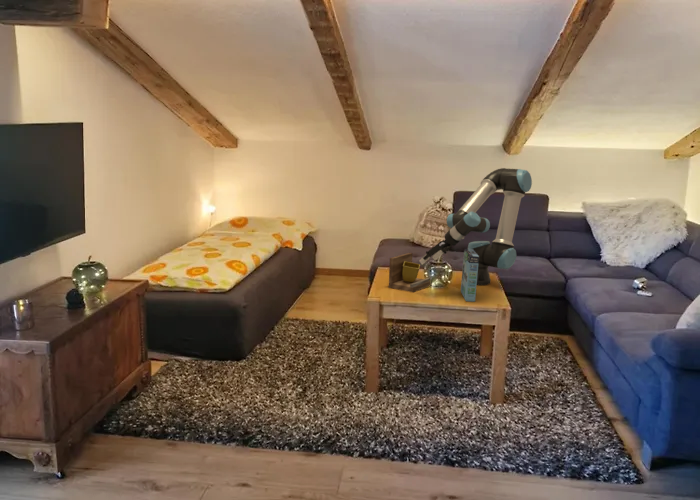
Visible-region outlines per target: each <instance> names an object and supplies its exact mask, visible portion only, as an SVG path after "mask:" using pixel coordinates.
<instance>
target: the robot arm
mask: <svg viewBox="0 0 700 500" xmlns="http://www.w3.org/2000/svg"><path fill="white" fill-rule="evenodd" d="M532 184H533V181H532V176H531V173H530V171H528V170H527V169H521V168H505V167H501V168H497V169H495V170H493V171H492V172H490V173H489V174H487V175H486V176H484V178H482V180H481V181H480V184H479V186H478V187H477V189H476V190H474V192H473V193H472V195H471V196H470V197H469V198H468V199H467V200H466V201H465V202H464V203H463V205H462V206H461V207H460V208H459V210H458V211H457V212H455V213H450V214H448V216H447V217H446V225H447V227H448V228H450V229H449V230H448V231H447V232H446V233H445V234H444V239H443V240H441V241H439V242H438V243H437V244H436V245H434V246H433V247H431V248H430V249H429V250H428V251H426V252H425V255H423V256H422V257H421V258H420V259H419V260H418V261H419V264H420V265H424V264H425V263H426V262H428V260H430V259H431V257H432V259H433V261H437V260H438V259H439V258H440V257H441V256H443V255H444V254H447V252H448V251H449V250H450V249H451V248H452V247H455V246H456V245H457V244H459V243H460V242H461V241H462V240H464V239H465V237H466V236H467V235H469V234H470V233H472V232H473V233H486V232H488V231H489V229H490V227H491V223H490V220H489V219H488V218H486V217H483V216H482V217H480V216H479V215H478V213H477V211H478V210H479V209H480V208H481V207H482V205H483V204H484V203H485V202H487V200H488V199H489V197H490V196H491V195H493V194H495V193H496V192H497V191H500V190H502V193H503V194H504V198H503V202H502V208H501V213H500V217H499V222H498V225H497V231H496V236H495V239H494V240H492V241H491V242H490V241H489V240H477V241H476V240H475V241H471V242H469V243H468V246H467V249H473V250H474V251H475V252H476V253H477V255H478V256H479V263H478V274H477V285H476V286H489V285H490V284H491V276H490V275H491V274H490V272H489V267H491V268H496V269H500V270H502V269H503V270H509V269H510V268H511V267H512V266H513V265H514V264H515V262H516V260H517V251H516V249H515V245H514V243H513V237H514V234H515V233H514V232H515V229H516V223H517V220H518V215H519V209H520V206H521V201H522V198H524V197H525V195H526V193H529V191H531V189H532Z"/></svg>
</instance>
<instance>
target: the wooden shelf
mask: <svg viewBox="0 0 700 500" xmlns="http://www.w3.org/2000/svg"><path fill="white" fill-rule="evenodd" d="M404 261H405V262H411V263H413V252H407V253H404V254H400V255H395V256H392V257H389V267H388V269H389V270H388V271H389V273H388V289H394V290H397V291H398V290H399V291H405V292H410V293H415V292H418V291H420V290H422V289H423V290H424V289H425V288H429V287H430V286H429V285H430V281H429V280H430V279H429V278H430V277H427V278H418V277H417V278H416V280H415V281H414V282H408V281H404V280H403V276H402V271H403V264H404ZM428 286H429V287H428Z"/></svg>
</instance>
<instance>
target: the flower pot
mask: <svg viewBox="0 0 700 500" xmlns="http://www.w3.org/2000/svg"><path fill="white" fill-rule="evenodd" d="M420 266H421V263H416V262H412V263H411V262H405V261H404V264H403V271H402V276H403V280H404V281H408V282H414V281H415V280H416V278H418V275H419V272H420Z"/></svg>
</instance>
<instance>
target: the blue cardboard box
mask: <svg viewBox="0 0 700 500" xmlns="http://www.w3.org/2000/svg"><path fill="white" fill-rule="evenodd" d="M462 259H463V260H462V269H461V270H462V272H461V280H460V281H461V282H460V283H461V285H460V292H461V294H462V296H463V299H464V300H465V302H468V303H469V302H472V303H473V302H476V296H477V295H476V294H477V286H478V285H477V274H478V263H479V256H478V255H477V253H476V252H475V251H474V250H473V249H468V248H464V249H463V258H462Z"/></svg>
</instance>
